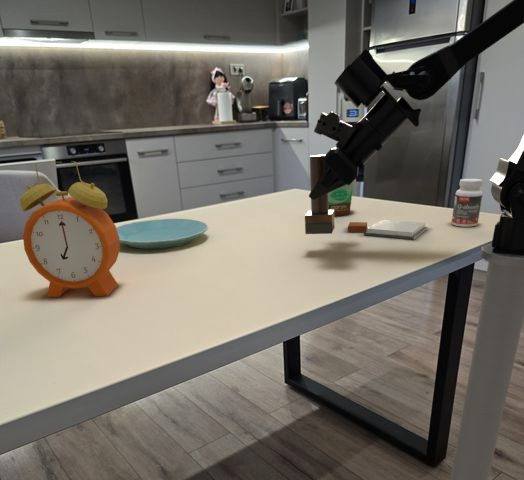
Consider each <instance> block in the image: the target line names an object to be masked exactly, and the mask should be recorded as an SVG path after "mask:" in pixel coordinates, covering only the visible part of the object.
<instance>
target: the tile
mask: <svg viewBox="0 0 524 480" xmlns="http://www.w3.org/2000/svg"><path fill="white" fill-rule="evenodd" d="M427 230H428V226H426V222H421V221H420V222H419V221H405V220H392V219H391V220H390V219H381V220H380V221H378V222H376V223H374V224H373V225H371V226H369V227H367V230H366V232H365V233H363V236H366V237H377V238H387V239H397V240H410V241H414V240H416V239H417V238H418V237H419V236H421V235H423V233H425V232H426V231H427Z"/></svg>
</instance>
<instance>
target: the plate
mask: <svg viewBox="0 0 524 480" xmlns="http://www.w3.org/2000/svg"><path fill="white" fill-rule="evenodd" d="M116 229H117V232H118V235H119V243H122V244H123V245H127V246H129V247H131V248H135V249H142V250H143V249H144V250H156V249H169V248H174V247H175V248H176V247H178V246H179V247H180V246H183V245H186V244H188V243H190V242H192V241H193V240H194V239H196V238H198V237H199V236H201V235H203V234H204V233H205V232H206V231H208V229H209V226H208V224H207V223H205V222H204V221H201V220H197V219H191V218H162V219H161V218H160V219H150V220H142V221H135V222H129V223H126V224H122V225H119V226H116Z"/></svg>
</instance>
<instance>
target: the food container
mask: <svg viewBox="0 0 524 480" xmlns="http://www.w3.org/2000/svg"><path fill="white" fill-rule="evenodd" d="M355 183H357V178H356V179H355V180H354V181H353V182H352V183H351V184H350V185H348V184H347V185H344V186H342V187H340V188H338V189H336V190H333V191H331V192H329V193H328V210H334V218H336V217H344V216H348V215H350V214H351V206H352V199H353V190H354V184H355Z"/></svg>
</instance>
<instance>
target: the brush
mask: <svg viewBox="0 0 524 480" xmlns="http://www.w3.org/2000/svg"><path fill="white" fill-rule="evenodd" d="M325 155H326V154H314V155H310V156H309V176H310V177H309V179H310V181H309V182H310V192H311V191H312V189H313V188H314V186H315V185H316V183H317V182H318V180H319V178H320V177H321V175H322V174H323V172H324V159H323V157H324V156H325ZM335 227H336V226H335V217H334V210H328V193H327V194H325V195H322V196H320V197H318V198H316V199H314V200H312V199H311V198H310V210H308V211H307V212H306V213H305V214H304V231H305V232H304V233H305V235H329V234H331V235H332V234H333V232H334V230H335Z"/></svg>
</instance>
